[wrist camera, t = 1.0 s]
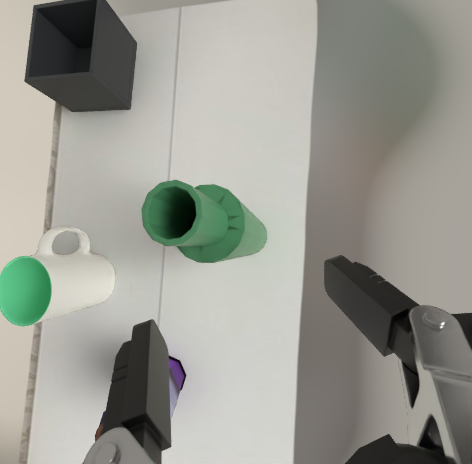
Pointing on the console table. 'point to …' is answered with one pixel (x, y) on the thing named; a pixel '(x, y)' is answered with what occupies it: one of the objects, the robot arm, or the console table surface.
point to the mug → (54, 281)
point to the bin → (81, 55)
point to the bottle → (202, 222)
